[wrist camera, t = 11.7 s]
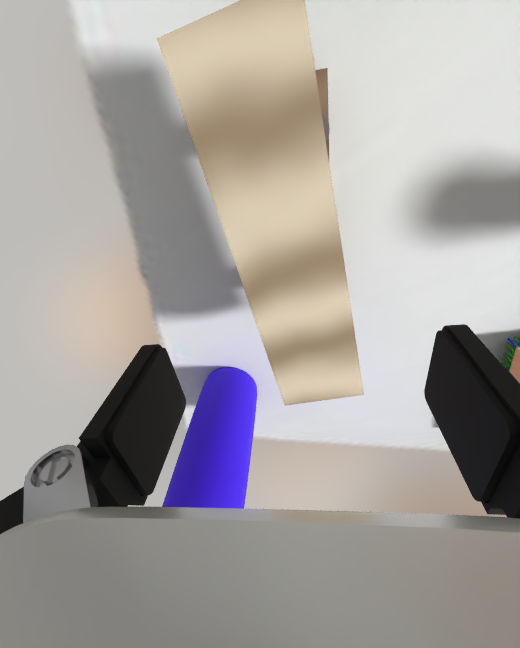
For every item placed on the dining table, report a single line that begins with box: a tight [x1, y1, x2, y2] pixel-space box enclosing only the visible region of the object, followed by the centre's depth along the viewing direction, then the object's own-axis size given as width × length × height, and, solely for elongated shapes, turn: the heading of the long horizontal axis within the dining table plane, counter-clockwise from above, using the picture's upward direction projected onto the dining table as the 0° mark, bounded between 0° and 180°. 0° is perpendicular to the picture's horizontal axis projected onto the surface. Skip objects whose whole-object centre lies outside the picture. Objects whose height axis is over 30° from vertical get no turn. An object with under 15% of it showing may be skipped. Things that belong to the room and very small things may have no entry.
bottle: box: [162, 367, 257, 509], centre depth 33 cm, size 8×8×30 cm
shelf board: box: [157, 0, 364, 405], centre depth 21 cm, size 24×6×6 cm, turn 16°
